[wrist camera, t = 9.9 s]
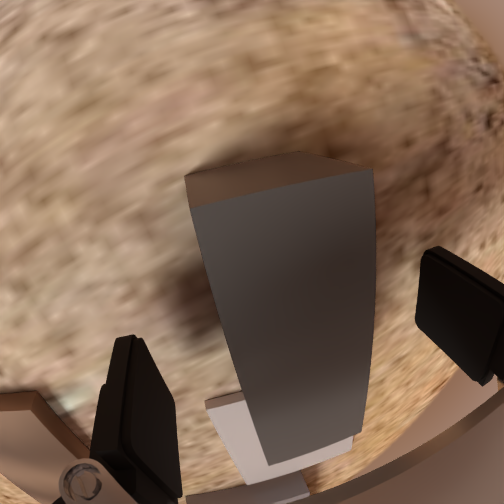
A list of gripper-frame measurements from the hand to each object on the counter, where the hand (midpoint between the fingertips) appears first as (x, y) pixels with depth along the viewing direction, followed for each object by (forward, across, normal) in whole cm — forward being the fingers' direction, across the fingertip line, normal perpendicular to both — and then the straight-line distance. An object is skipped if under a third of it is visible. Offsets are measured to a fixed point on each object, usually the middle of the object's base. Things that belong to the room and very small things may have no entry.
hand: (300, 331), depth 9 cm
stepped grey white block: (+2, 0, +4) cm, 5 cm away
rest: (+2, +16, +11) cm, 19 cm away
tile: (+1, +8, +18) cm, 20 cm away
